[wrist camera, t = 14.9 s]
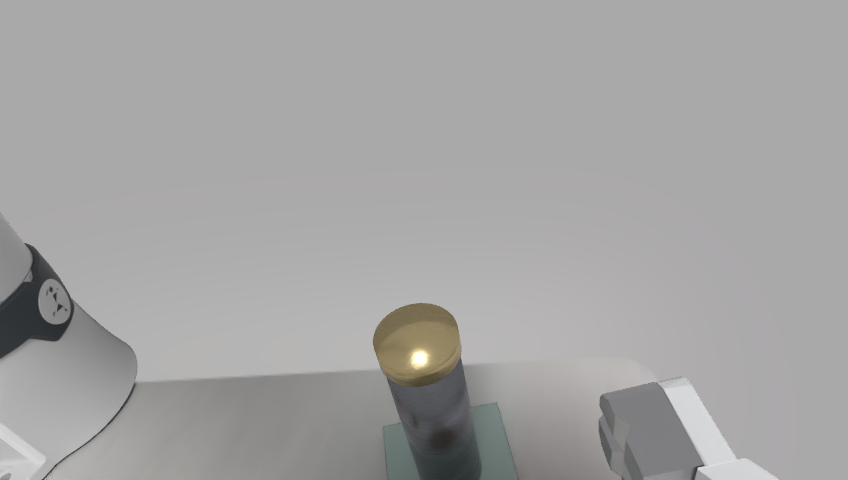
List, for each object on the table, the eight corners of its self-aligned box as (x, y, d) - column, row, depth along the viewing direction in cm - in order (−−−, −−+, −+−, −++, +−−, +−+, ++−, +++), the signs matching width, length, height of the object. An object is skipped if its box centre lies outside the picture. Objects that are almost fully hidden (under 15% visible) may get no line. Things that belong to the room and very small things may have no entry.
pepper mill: (421, 507, 40) (375, 377, 31) (413, 445, 44) (370, 312, 35) (490, 493, 40) (465, 359, 31) (476, 432, 44) (450, 296, 35)
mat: (395, 549, 39) (394, 545, 38) (384, 431, 46) (382, 426, 45) (528, 521, 39) (528, 516, 38) (497, 406, 46) (496, 402, 45)
